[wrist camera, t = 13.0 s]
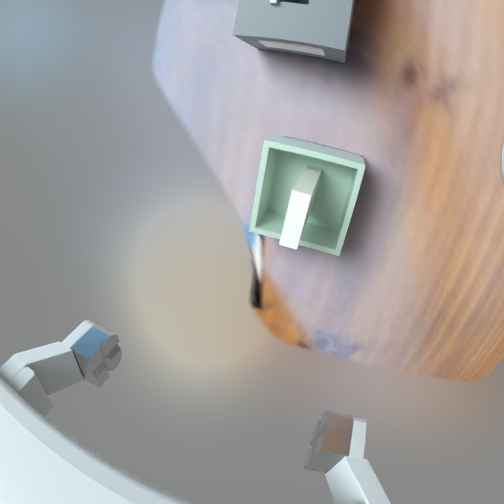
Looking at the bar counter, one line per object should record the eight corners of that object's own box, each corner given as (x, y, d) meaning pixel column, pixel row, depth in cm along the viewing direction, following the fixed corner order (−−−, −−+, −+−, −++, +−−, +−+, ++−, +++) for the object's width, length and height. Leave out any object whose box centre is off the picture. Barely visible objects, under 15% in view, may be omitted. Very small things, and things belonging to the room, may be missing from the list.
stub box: (362, 155, 32) (365, 165, 27) (340, 233, 37) (339, 256, 32) (277, 134, 33) (264, 140, 28) (263, 212, 38) (248, 231, 33)
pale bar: (322, 168, 33) (311, 195, 24) (311, 208, 36) (297, 249, 26) (307, 164, 33) (291, 189, 24) (298, 204, 36) (278, 244, 26)
